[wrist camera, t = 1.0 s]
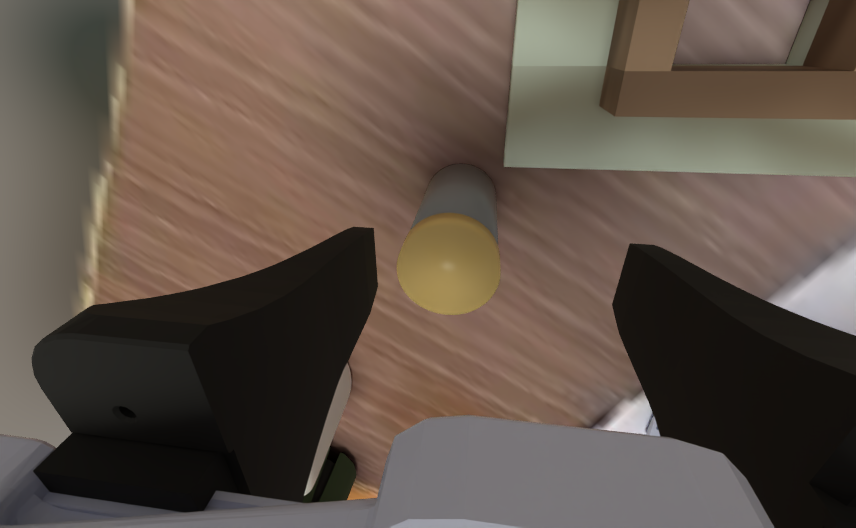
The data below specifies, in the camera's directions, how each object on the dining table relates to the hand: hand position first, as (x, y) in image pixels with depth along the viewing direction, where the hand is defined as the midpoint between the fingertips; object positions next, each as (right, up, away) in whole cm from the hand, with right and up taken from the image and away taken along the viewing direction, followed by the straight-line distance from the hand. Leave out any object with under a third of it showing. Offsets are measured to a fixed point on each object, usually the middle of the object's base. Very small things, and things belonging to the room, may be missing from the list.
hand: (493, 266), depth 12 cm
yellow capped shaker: (0, +4, +9) cm, 10 cm away
